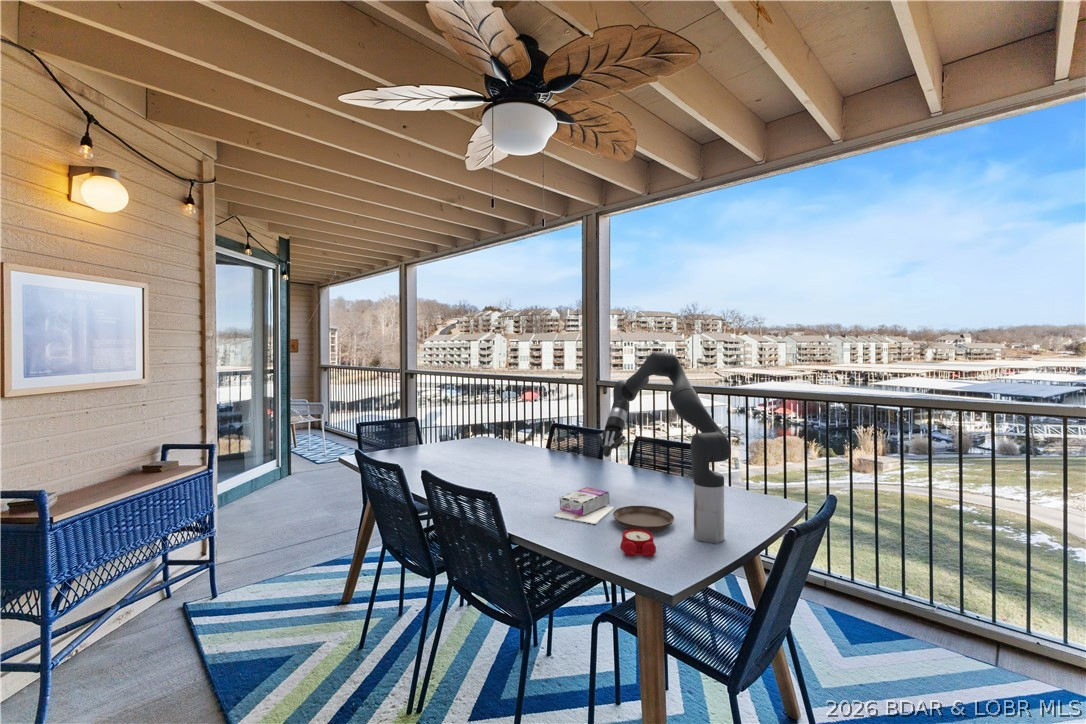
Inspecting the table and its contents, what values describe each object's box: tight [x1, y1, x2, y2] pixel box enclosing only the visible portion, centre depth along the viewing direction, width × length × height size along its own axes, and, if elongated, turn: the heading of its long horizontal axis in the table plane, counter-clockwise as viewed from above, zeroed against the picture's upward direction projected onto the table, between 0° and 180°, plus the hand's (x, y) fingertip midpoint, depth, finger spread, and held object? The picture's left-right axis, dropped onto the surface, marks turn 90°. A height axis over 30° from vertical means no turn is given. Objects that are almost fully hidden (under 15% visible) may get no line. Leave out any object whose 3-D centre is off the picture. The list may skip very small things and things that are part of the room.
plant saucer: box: [612, 505, 675, 533], centre depth 161 cm, size 21×21×3 cm
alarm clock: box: [619, 529, 657, 558], centre depth 140 cm, size 10×6×15 cm
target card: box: [554, 505, 615, 525], centre depth 172 cm, size 18×16×1 cm
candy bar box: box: [559, 486, 610, 515], centre depth 176 cm, size 11×5×16 cm
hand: (605, 455), depth 188 cm, fingers closed
